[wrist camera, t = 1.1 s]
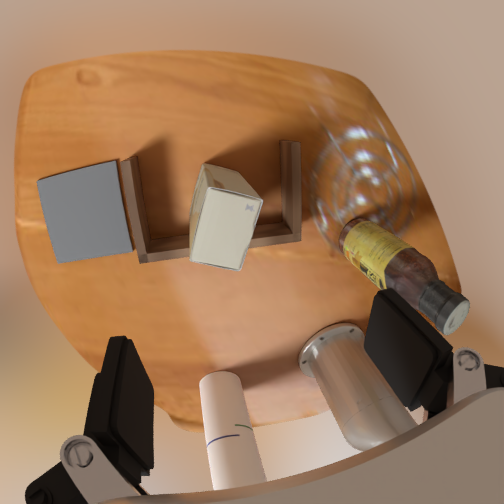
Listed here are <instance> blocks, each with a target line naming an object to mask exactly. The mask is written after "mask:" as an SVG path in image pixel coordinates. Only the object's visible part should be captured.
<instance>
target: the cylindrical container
mask: <svg viewBox="0 0 504 504" xmlns="http://www.w3.org/2000/svg"><path fill="white" fill-rule="evenodd" d="M199 386H200V396H201V405H202V413H203V422H204V430H205V437H206V444H207V451H208V457H209V465H210V470H211V477H212V483H213V489H214V490H222V489H229V488H236V487H242V486H248V485H254V484H259V483H264V482H267V480H266V476H265V473H264V469H263V466H262V462H261V458H260V455H259V451H258V448H257V444H256V441H255V436H254V433H253V429H252V425H251V421H250V417H249V413H248V409H247V405H246V401H245V397H244V393H243V389H242V385H241V381H240V378H239V377H238V376H237V375H236V374H234V373H231V372H227V371H217V372H213V373H210V374H208V375H206V376H205V377H203V378H202V379H201V381H200V384H199Z"/></svg>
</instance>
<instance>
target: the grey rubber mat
mask: <svg viewBox="0 0 504 504" xmlns="http://www.w3.org/2000/svg"><path fill="white" fill-rule="evenodd" d="M37 186H38V191H39V196H40V201H41V205H42V210H43V214H44V218H45V222H46V225H47V229H48V233H49V236H50V240H51V243H52V247H53V250H54V253H55V256H56V259H57V262H58V264H59V263H65V262H71V261H77V260H83V259H90V258H96V257H102V256H109V255H115V254H122V253H128V252H133V247H132V243H131V238H130V234H129V229H128V225H127V220H126V215H125V210H124V204H123V199H122V193H121V187H120V181H119V175H118V168H117V161H111V162H107V163H102V164H98V165H94V166H89V167H85V168H81V169H77V170H73V171H70V172H66V173H62V174H59V175H55V176H52V177H48V178H45V179H41V180H38V181H37Z"/></svg>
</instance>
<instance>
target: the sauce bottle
mask: <svg viewBox="0 0 504 504" xmlns="http://www.w3.org/2000/svg"><path fill="white" fill-rule="evenodd" d="M339 247H340V249H341V251H342V253H343V254H344V255H345V257H346V258H347V259H348V260H349V261H350V262H351V263H352V264H353V265H354V266H355V267H357V268H358V269H359V270H360V271H361V272H362V273H363V274H364V275H365V276H366V277H367V278H369V279H370V280H371V281H372V282H373V283H374V284H375V285H376V286H377V287H378V288H379V289H380V290H384V289H387V288H392V289H394V290H395V291H396V292H397V293H398V294H399V295H400V296H401V297H402V298H404V299H405V300H406V301H407V302H408V303H409V304H410V305H411V306H412V307H413V308H414V309H416V310H419V311H421V312H422V313H423V314H425V315H426V316H427V317H428V318H429V319H430V320H431V321H432V322H434V323H435V326H436V328H437V329H438V330H439V331H441V332H442V333H443V334H444V335H449V334H451V333H453V332H454V331H455V330H456V329H457V328H458V327H459V326H460V325H461V324H462V323H463V321H464V320H465V318H466V316H467V314H468V311H469V308H470V303H469V300H468V299H466V298H465V297H464V296H463V295H462V294H460V293H457V292H454V291H453V290H452V289H451V288H449V287H448V286H447V285H445V283H444V282H443V281H441V280H439V278H438V275H437V271H436V269H435V267H434V265H433V263H432V262H431V260H429V259H428V258H427V257H426V256H424V255H422V254H421V253H419V252H418V251H417V250H416V249H415V248H413V247H412V246H410V245H409V244H407V243H406V242H404V241H403V240H401V239H399V238H398V237H396V236H395V235H393V234H391V233H390V232H388V231H387V230H385V229H383V228H382V227H380V226H378V225H377V224H375V223H373V222H371V221H369V220H367V219H362V218H360V219H356V220H352V221H350V222H349V223H348V224H347V225H346V226H345V227H344V228H343V230H342V232H341V235H340V238H339Z"/></svg>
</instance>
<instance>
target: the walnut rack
mask: <svg viewBox="0 0 504 504" xmlns="http://www.w3.org/2000/svg"><path fill="white" fill-rule="evenodd" d="M280 163H281V193H282V222H281V223H273V224H265V225H256V226H255V228H254V232H253V235H252V238H251V241H250V244H249V247H248V248H255V247H262V246H269V245H276V244H284V243H291V242H298V241H301V218H302V207H301V147H300V142H296V141H290V140H281V141H280ZM120 164H121V171H122V177H123V183H124V190H125V195H126V201H127V206H128V212H129V217H130V222H131V227H132V232H133V236H134V241H135V245H136V249H137V254H138V258H139V262H140V264H141V263H148V262H155V261H162V260H169V259H176V258H183V257H190V234H188V235H181V236H174V237H168V238H161V239H154V240H151V237H150V232H149V227H148V221H147V216H146V210H145V205H144V199H143V193H142V186H141V180H140V173H139V165H138V158H137V156H136V157H131V158H128V159H126V160H123V161H121V162H120Z"/></svg>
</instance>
